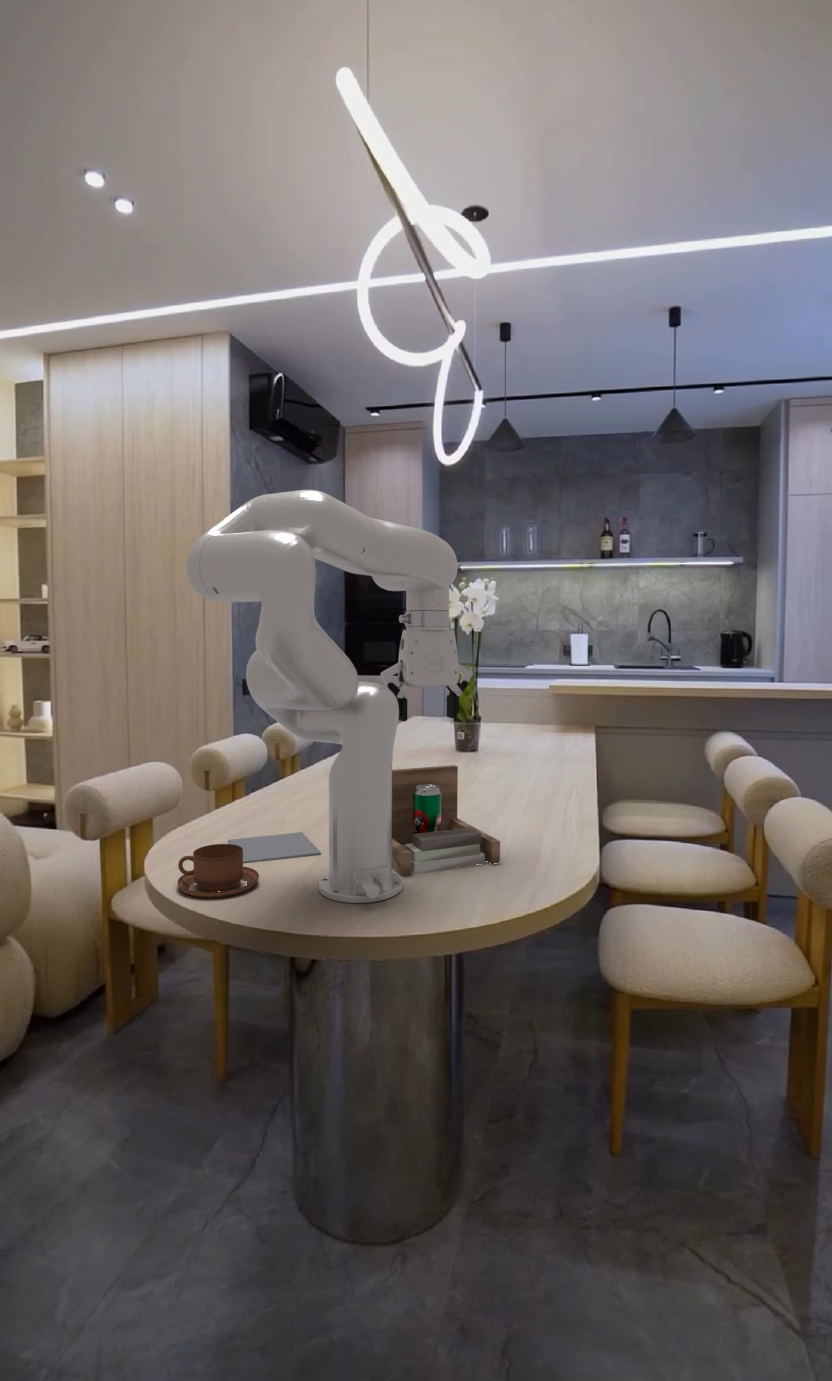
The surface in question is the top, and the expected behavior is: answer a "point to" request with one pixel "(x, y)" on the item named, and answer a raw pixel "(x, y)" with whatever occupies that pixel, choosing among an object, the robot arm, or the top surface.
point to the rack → (438, 848)
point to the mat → (275, 847)
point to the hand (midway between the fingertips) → (427, 719)
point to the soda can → (426, 809)
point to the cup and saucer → (216, 871)
